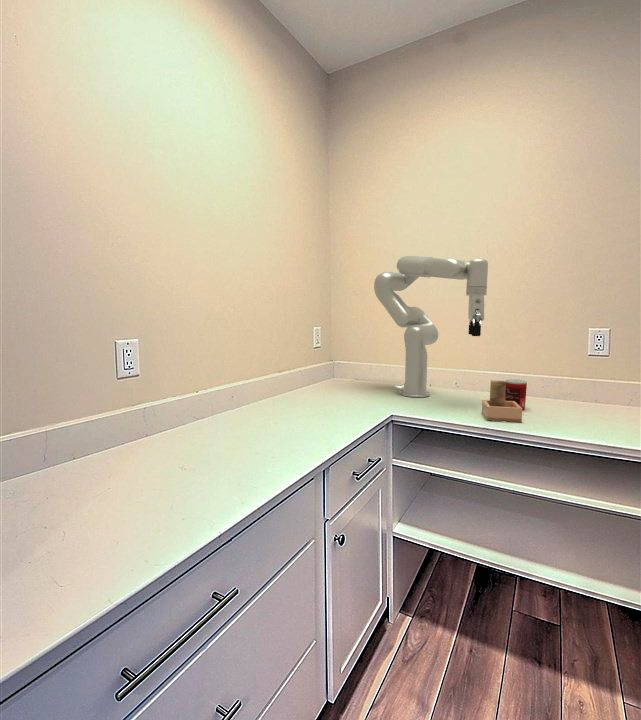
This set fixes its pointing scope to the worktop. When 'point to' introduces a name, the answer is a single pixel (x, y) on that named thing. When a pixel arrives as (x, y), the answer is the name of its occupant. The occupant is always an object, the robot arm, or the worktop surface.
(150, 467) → the worktop surface
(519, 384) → the canned food
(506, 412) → the wooden tray
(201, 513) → the worktop surface
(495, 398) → the tan brown block
